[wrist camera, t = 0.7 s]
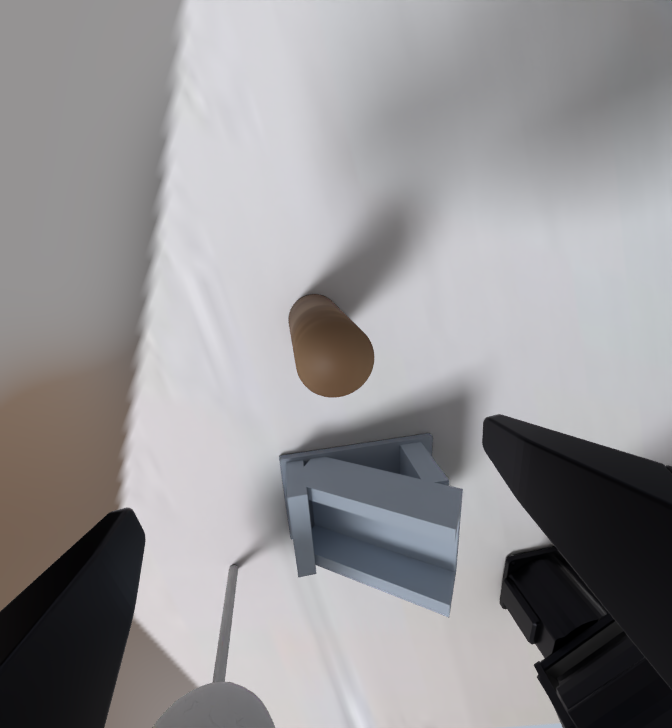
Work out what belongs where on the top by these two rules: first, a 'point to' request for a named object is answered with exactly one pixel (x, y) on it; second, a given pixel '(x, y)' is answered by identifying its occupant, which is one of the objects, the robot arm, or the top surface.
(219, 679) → the lollipop
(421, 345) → the top surface
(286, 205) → the top surface
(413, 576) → the cradle
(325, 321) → the peg
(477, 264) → the top surface
